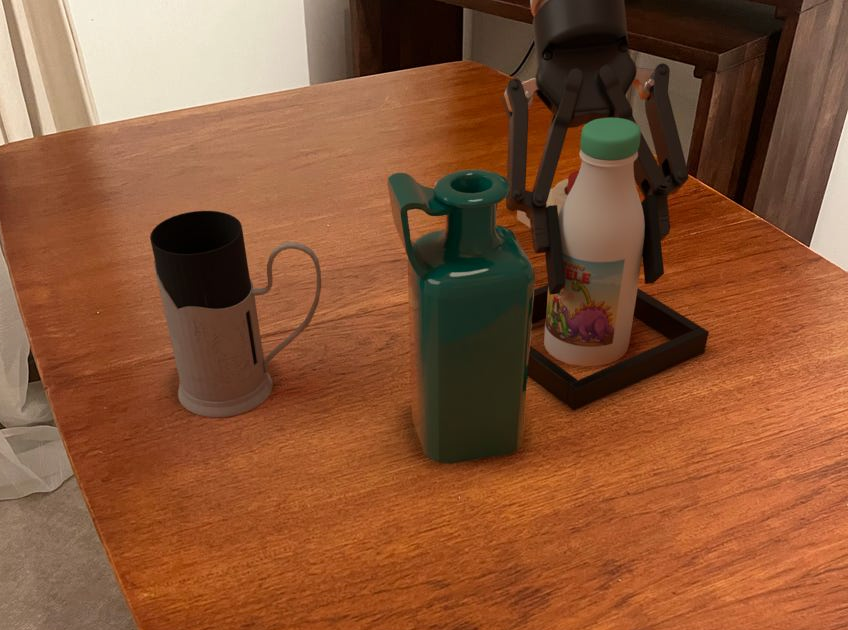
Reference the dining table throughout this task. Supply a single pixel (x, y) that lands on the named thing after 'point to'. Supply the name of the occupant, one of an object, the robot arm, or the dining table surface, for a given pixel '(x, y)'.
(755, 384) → the dining table surface
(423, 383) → the pitcher
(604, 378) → the black square frame
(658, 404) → the dining table surface
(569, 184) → the stop button
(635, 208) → the milk bottle
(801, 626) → the dining table surface
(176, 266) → the glass holder
